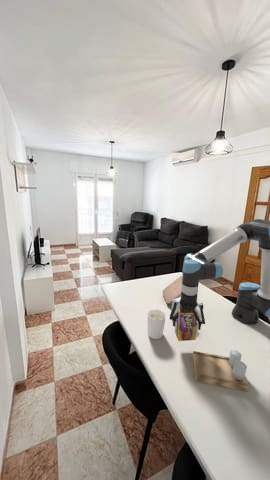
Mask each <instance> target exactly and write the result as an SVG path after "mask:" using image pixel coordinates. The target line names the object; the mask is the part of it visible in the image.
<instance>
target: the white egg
mask: <svg viewBox="0 0 270 480" xmlns="http://www.w3.org/2000/svg"><path fill="white" fill-rule="evenodd" d="M228 357H229V362H228V364H229V366H230V367H231V368H233V367H234V362H235V361H237V360H238V361H242V353H241V352H240V351H238V350H236V349H231V350H230V352H229V356H228Z"/></svg>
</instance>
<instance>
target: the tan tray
mask: <svg viewBox="0 0 270 480" xmlns="http://www.w3.org/2000/svg"><path fill="white" fill-rule="evenodd" d="M192 360H193V361H192V362H193V371H194V381H195V382H198V383H203V384H208V385H213V386H218V387H224V388H228V389H234V390H238V391H244V392H249V388H250V384H249V382H248V380H247V378H246V377H245V378H244V381H243V382H239V381H236V380H235V379H234V378H233V376H232V372H233V368H231V367H230V366H229V364H228V362H229V356H223V355H218V354H212V353H207V352H201V351H195V350H193V351H192Z"/></svg>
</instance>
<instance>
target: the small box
mask: <svg viewBox="0 0 270 480" xmlns="http://www.w3.org/2000/svg"><path fill="white" fill-rule="evenodd" d="M180 299H181V297H179V298H176V299H174V300H176V301H180ZM174 300H172V307H171V311H172V308H173V305H174ZM180 307H181V305H180V304H178V306H177V307H176V310H175V313H174V315H175V314H176V313H177V311H178V309H180ZM171 311H170V312H171ZM174 315H173V316H174Z"/></svg>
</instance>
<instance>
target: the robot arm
mask: <svg viewBox="0 0 270 480" xmlns="http://www.w3.org/2000/svg"><path fill="white" fill-rule="evenodd" d="M248 241H255V242H258V248H259V249H260V250H261V258H260V259H261V262H260V263H261V266H260V267H261V268H260V284H258V283H256V282H255V283H254V282H249V281H248V282H247V281H246V282H241V283H240V284H239V286H238V289H237V298H236V304H235V305H234V306H233V308H232V310H231V316H232V317H233V318H234V319H235V320H236V321H238V322H240V323H243V324H247V325H256V324H258V323H259V319H260V318H259V313H261V314H262V315H263V316H265V317H267V318H269V319H270V220H268V219H260V218H259V219H258V218H257V219H251V220H249V221H246V222H243V223H241V224H239V225H238V226H236V227H235V228H233V230H232V231H231V232H229V233H228V234H226V235H225V236H222V237H221V238H219V239H218V240H216V241H214V242H213V243H211V244H209V245H207V246H206V247H204V248H202V249H201V250H199V251H198V252H196V253H192V252H191V253H186V255H185V256H184V259H183V263H182V265H183V266H182V274H181V276H182V288H181V299H180V301H176V300H174V305H173V308H172V307H171V310H172V311H170V314H169V320H172V326H173V327H174V334H176V330H177V318H178V315H179V313H178V312H177V313H176V314H175V315H174V313H175V310H176V307H177V306H178V304H180V305H181V307H180V311H182V312H183V311H184V310H185V311H187V310H188V311H192V312H193V313H194V315H195V318H196V320H197V326H196V337H198V335H199V331H201V328H202V325H206V321H205V314H204V304H203V302H200V303H198V293H199V283H200V281H205V280H215V279H218V278H221V277H223V274H224V269H223V266H222V264H220V263H219V262H211V261H213V260H215V259H217V258H218V257H219V256H222V255H223V254H225V253H226V252H228V251H229V250H231V249H233V248H234V247H235V248H236V246H238V245H240V244H241V243H246V242H248ZM197 307H198V309H199V312H200V316H201V319H200V316H199V314H198V312H197V313H196V311H197V309H196V308H197ZM173 315H174V316H173Z"/></svg>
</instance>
